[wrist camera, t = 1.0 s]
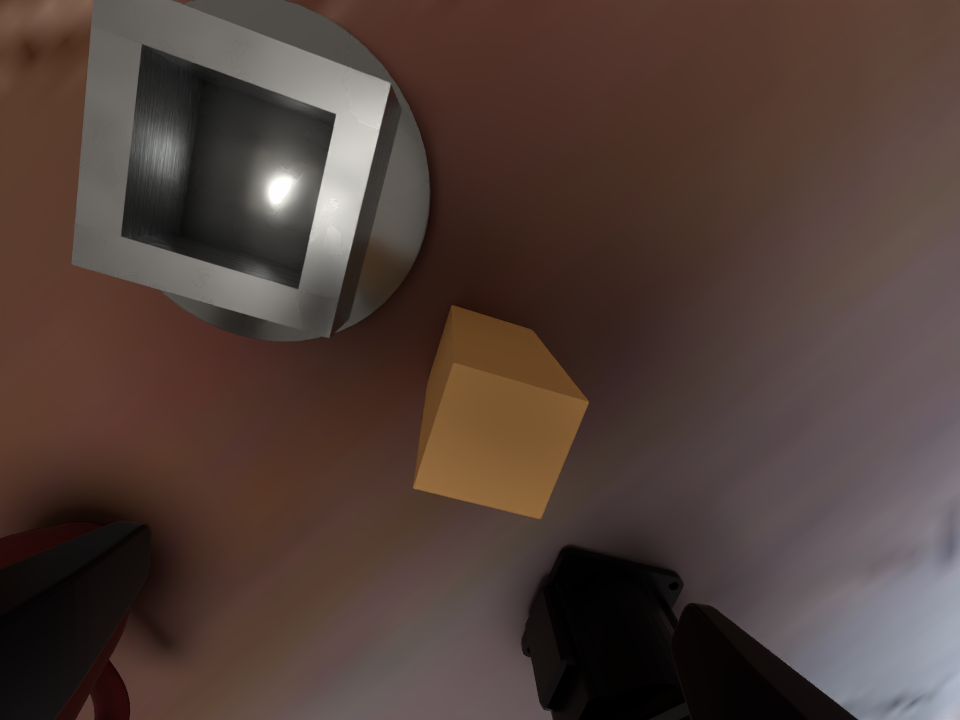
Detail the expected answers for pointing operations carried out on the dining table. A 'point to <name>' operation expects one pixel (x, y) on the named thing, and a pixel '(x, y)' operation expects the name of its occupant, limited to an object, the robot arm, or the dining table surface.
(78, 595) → the robot arm
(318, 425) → the dining table surface
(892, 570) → the dining table surface
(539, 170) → the dining table surface
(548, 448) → the orange-brown rectangular block
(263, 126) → the silver square frame
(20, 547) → the mug
